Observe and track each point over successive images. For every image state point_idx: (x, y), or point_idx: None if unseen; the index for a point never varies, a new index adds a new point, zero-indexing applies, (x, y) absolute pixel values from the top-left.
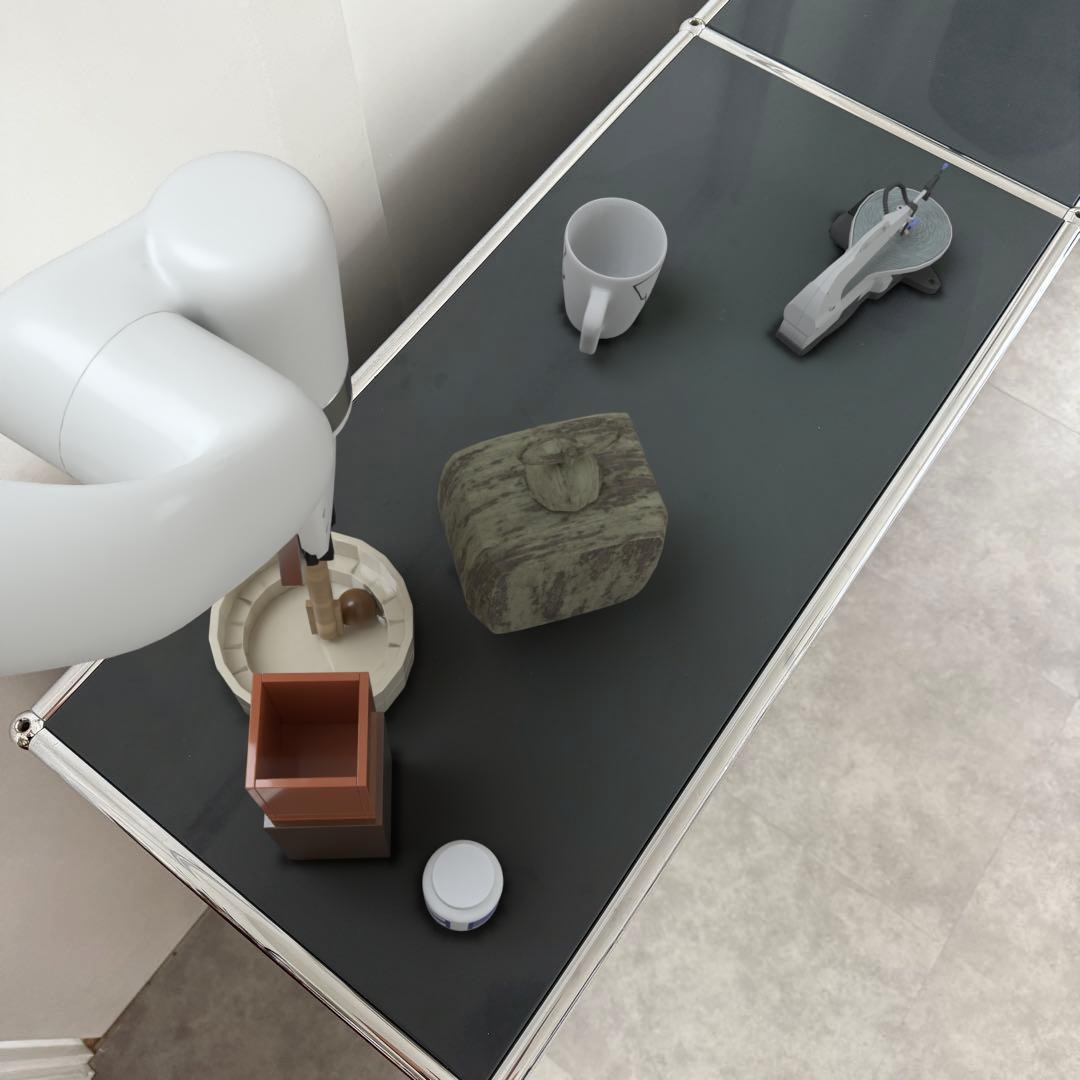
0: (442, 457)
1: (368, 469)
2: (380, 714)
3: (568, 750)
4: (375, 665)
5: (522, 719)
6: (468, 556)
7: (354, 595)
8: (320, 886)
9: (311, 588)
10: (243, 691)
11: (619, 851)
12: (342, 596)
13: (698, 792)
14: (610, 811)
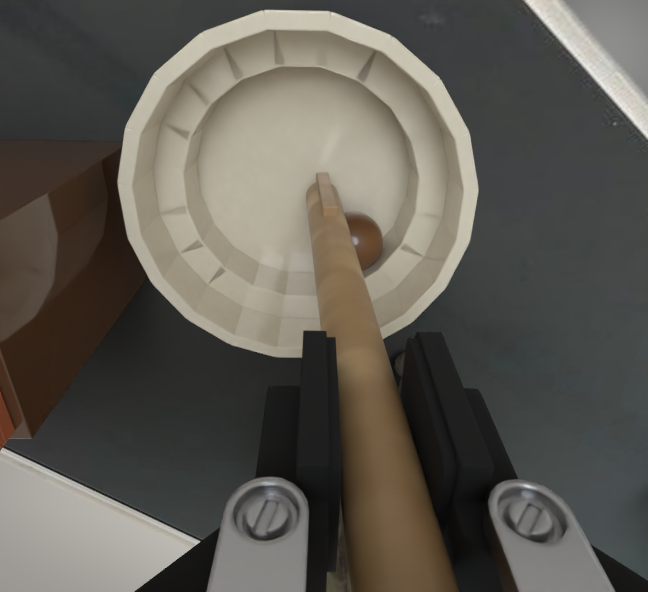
0: (579, 333)
1: (587, 239)
2: (23, 435)
3: (186, 440)
4: (274, 255)
5: (217, 403)
6: (327, 585)
7: (363, 253)
8: None
9: (319, 266)
10: (158, 93)
11: (88, 473)
12: (366, 231)
13: (157, 530)
14: (127, 469)
